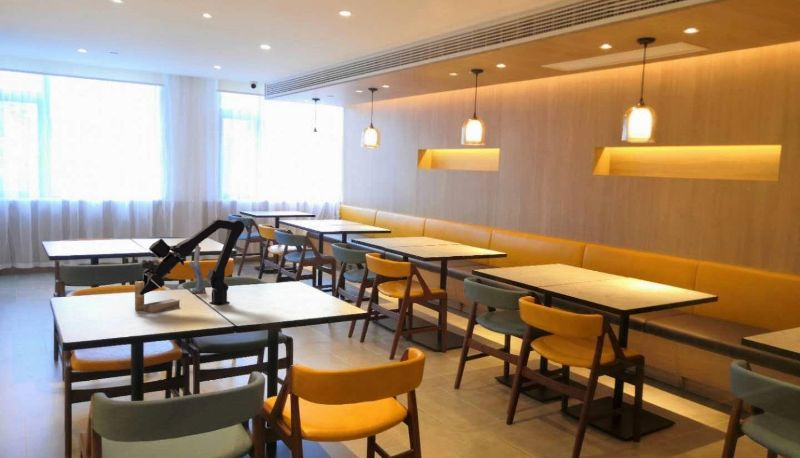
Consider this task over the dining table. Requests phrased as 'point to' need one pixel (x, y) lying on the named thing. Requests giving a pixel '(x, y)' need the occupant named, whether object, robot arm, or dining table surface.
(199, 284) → the antler
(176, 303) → the block
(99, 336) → the dining table surface
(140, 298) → the oak rod
